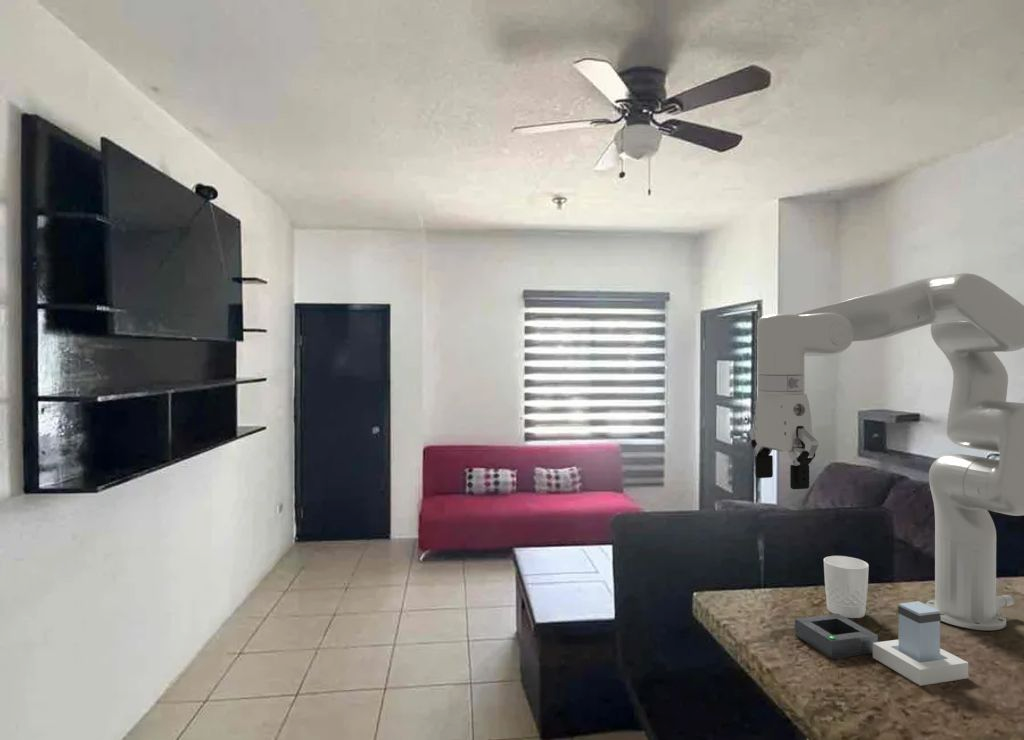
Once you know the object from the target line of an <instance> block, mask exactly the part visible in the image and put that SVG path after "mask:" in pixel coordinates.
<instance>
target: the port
mask: <svg viewBox="0 0 1024 740" xmlns="http://www.w3.org/2000/svg"><path fill="white" fill-rule="evenodd" d="M794 622H795V623H794V632H795V633H794V635H795V636H796V637H798V638H799V639H801V640H803V641H804V642H806V643H807V644H808V645H810V646H811V647H813V648H814V649H816V650H818V651H820V652H821V653H822V654H824V655H826V656H827V657H828V658H830V659H831V660H833V659H834V660H835V659H839V658H840V659H841V658H847V657H854V656H861V655H867V654H868V655H869V654H873V643H876V642H879V641H878V640H879V639H878V636H879V635H878V634H876V633H875V632H872V630H869V629H867V628H865V627H864V626H862V625H860V624H858V623H856V622H855V621H853V620H851V619H850V618H846V617H844V616H842V615H840V614H833V613H831V614H823V615H814V616H813V615H812V616H806V617H799V618H794Z"/></svg>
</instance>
